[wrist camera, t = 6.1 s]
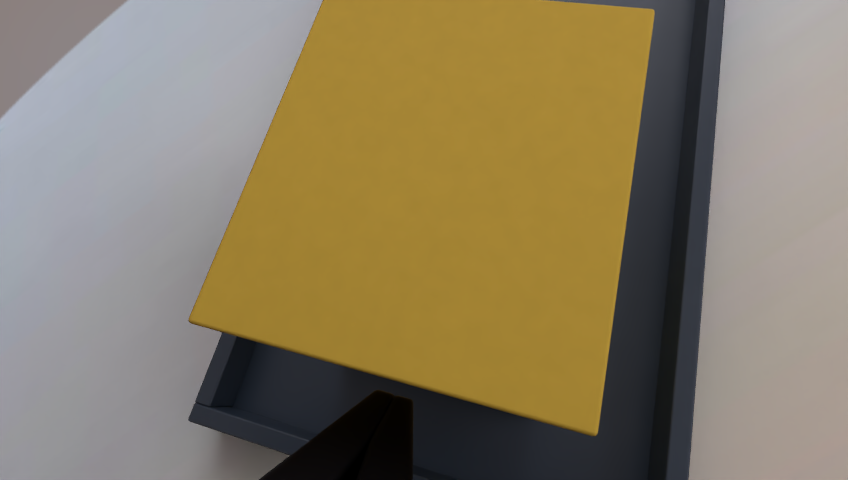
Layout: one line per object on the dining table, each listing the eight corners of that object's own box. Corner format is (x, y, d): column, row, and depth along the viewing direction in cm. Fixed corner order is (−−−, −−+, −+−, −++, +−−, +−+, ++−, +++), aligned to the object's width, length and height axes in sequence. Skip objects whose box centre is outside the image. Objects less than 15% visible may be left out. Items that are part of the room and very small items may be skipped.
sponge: (537, 416, 15) (598, 438, 6) (342, 362, 16) (185, 321, 8) (575, 200, 17) (655, 8, 9) (402, 170, 19) (329, -19, 10)
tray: (653, 560, 14) (680, 587, 12) (222, 418, 17) (186, 420, 15) (710, -49, 21) (732, -95, 19) (403, -65, 24) (395, -106, 22)
